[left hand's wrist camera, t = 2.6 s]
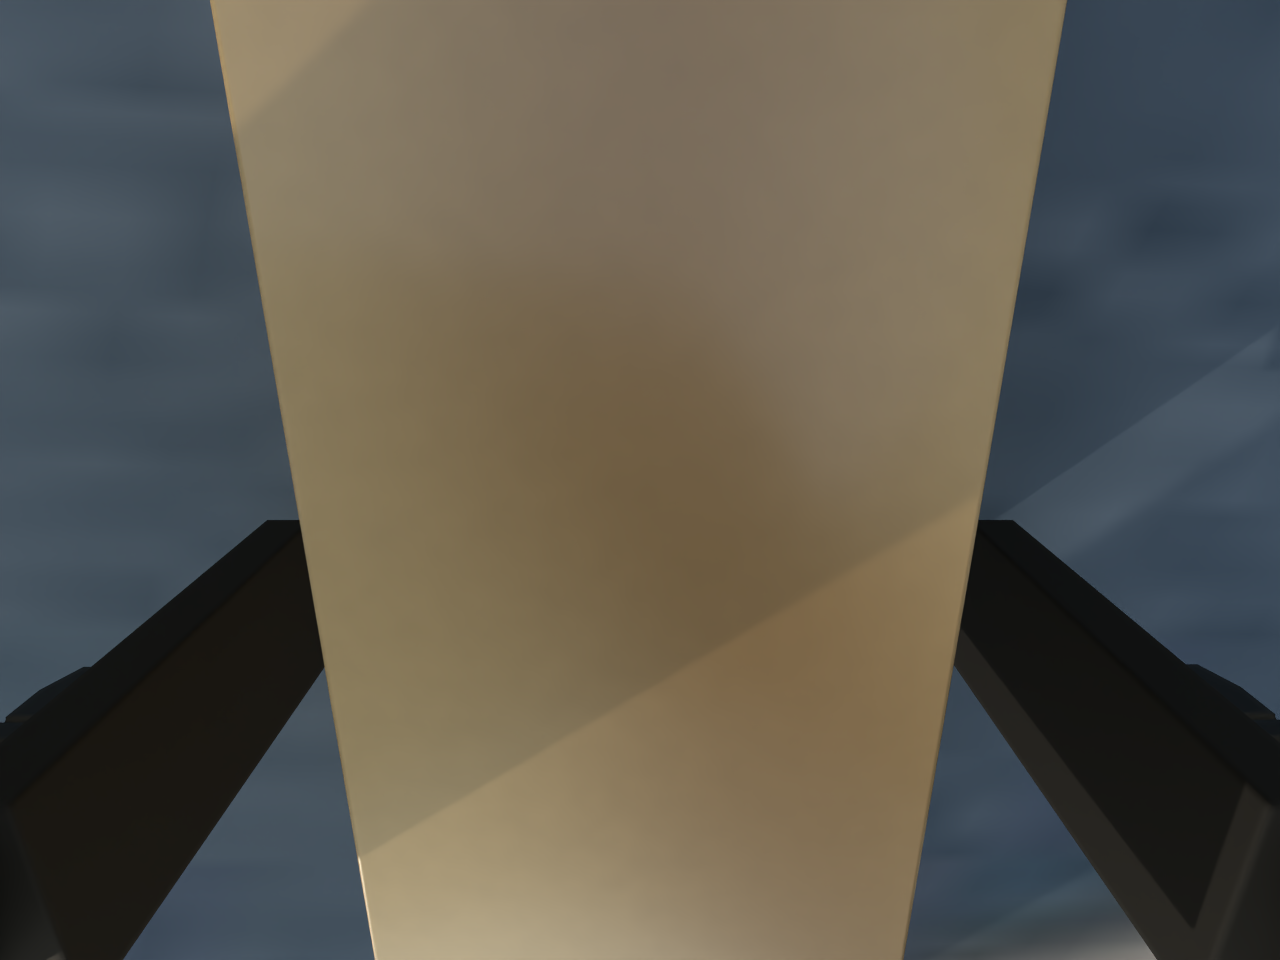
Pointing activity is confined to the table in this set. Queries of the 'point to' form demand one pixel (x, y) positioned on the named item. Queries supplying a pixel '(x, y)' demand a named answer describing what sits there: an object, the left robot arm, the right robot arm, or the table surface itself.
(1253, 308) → the table surface
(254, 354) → the table surface
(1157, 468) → the table surface
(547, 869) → the birch plank
